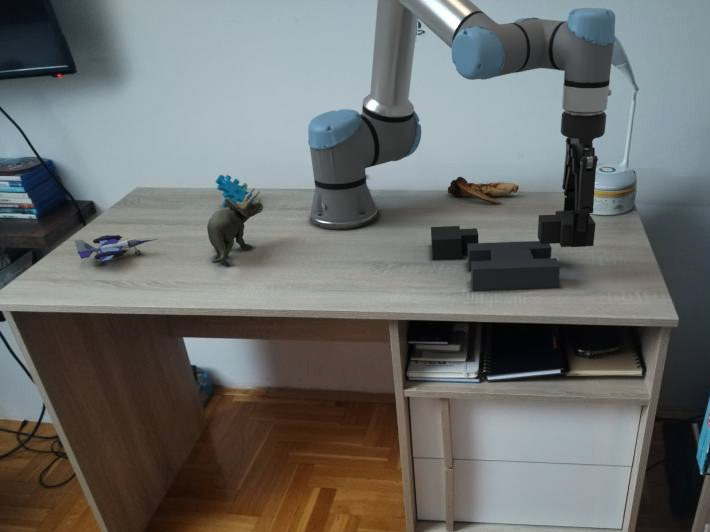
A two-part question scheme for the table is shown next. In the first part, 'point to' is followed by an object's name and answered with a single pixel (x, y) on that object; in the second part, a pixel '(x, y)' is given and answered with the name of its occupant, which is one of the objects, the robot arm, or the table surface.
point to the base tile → (512, 266)
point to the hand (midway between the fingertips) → (573, 237)
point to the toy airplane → (107, 247)
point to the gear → (232, 189)
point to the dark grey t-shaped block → (451, 241)
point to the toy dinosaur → (231, 226)
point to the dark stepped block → (561, 229)
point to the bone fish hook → (481, 189)
